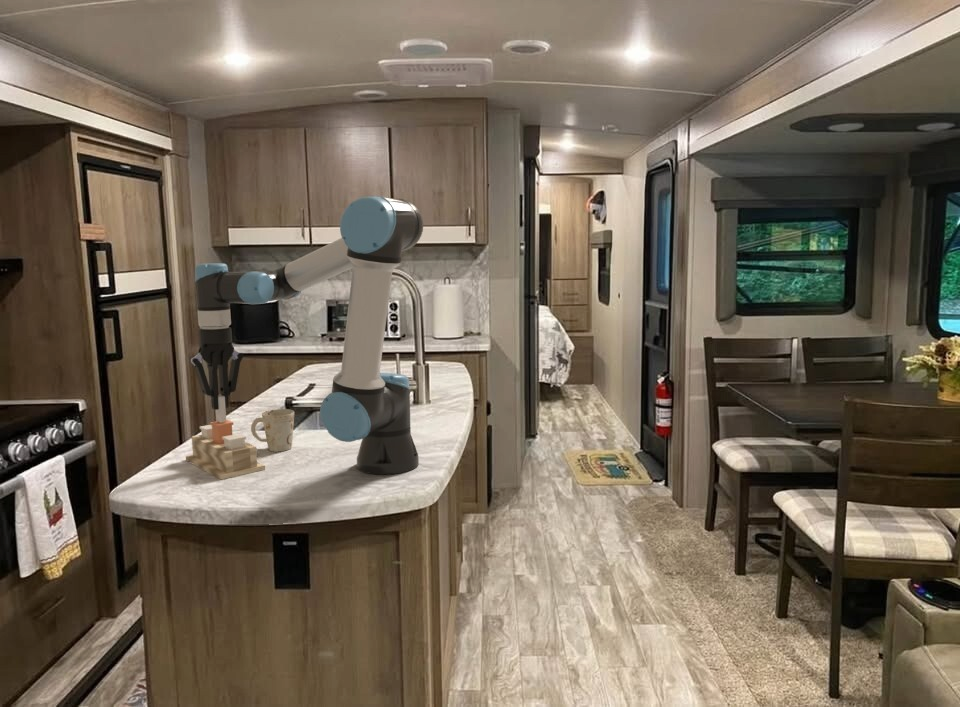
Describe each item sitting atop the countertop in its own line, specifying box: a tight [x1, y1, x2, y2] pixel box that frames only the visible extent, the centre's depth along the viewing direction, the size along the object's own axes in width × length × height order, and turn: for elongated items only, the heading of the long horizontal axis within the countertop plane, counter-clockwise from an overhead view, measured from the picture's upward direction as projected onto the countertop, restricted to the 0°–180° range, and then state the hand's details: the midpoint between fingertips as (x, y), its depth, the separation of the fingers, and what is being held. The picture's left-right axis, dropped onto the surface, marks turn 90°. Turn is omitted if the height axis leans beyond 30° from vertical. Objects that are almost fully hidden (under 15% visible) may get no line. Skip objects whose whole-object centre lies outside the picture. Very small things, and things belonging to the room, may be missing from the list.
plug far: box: [199, 424, 213, 439], centre depth 191 cm, size 4×4×7 cm
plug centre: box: [209, 419, 234, 445], centre depth 185 cm, size 4×4×7 cm
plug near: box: [222, 433, 247, 450], centre depth 180 cm, size 4×4×7 cm
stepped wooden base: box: [185, 434, 266, 480], centre depth 186 cm, size 22×11×6 cm, turn 42°
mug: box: [250, 408, 295, 453], centre depth 200 cm, size 8×13×10 cm, turn 78°
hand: (221, 421), depth 185 cm, fingers closed
